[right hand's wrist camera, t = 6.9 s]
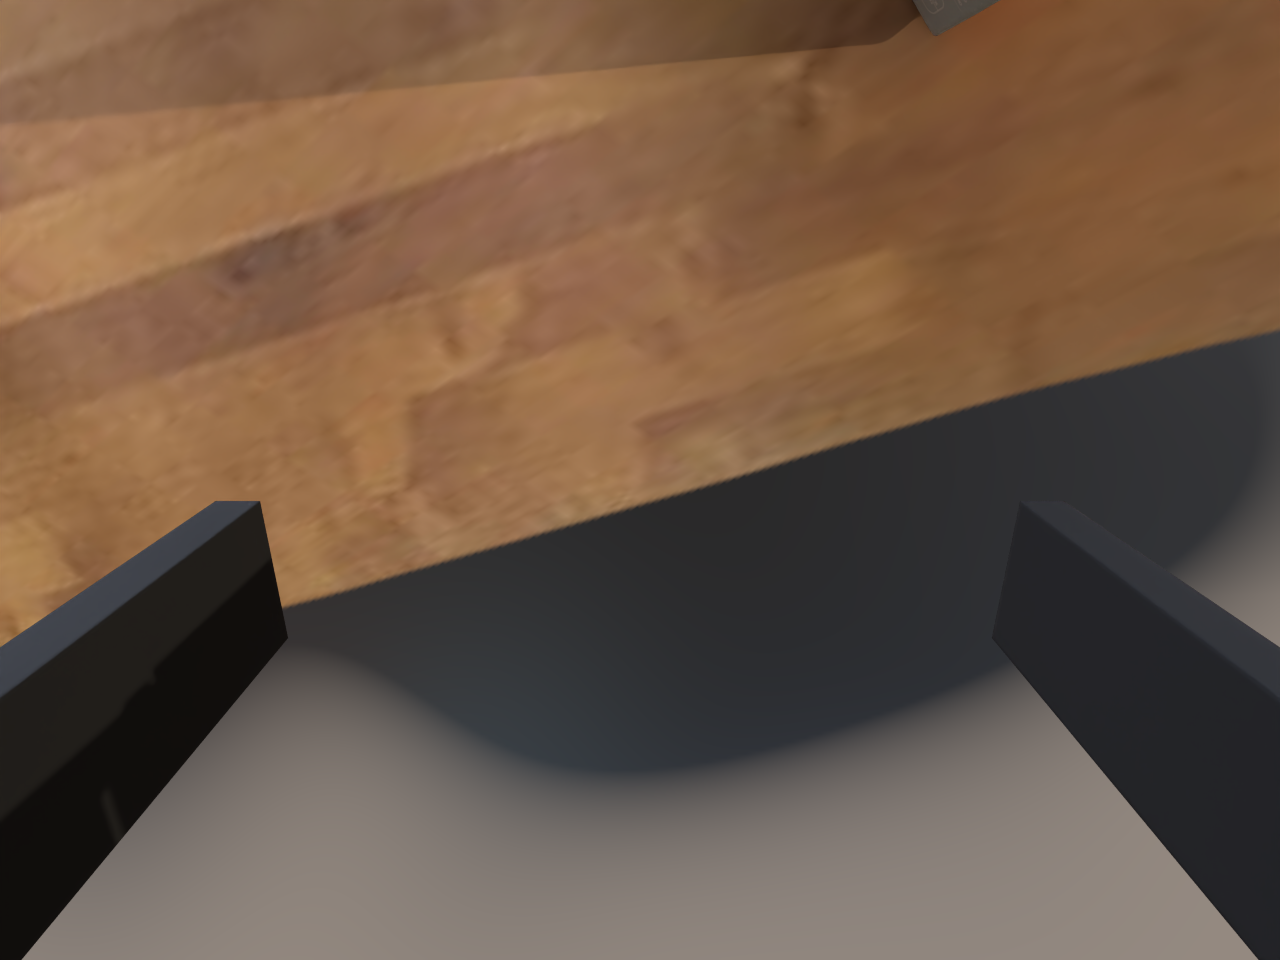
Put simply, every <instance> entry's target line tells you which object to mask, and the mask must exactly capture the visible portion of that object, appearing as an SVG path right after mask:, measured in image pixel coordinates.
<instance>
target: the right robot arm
mask: <svg viewBox="0 0 1280 960" xmlns="http://www.w3.org/2000/svg"><path fill="white" fill-rule="evenodd" d="M287 638H288V636H287V631H286V626H285V621H284V616H283V611H282V606H281V602H280V597H279V592H278V587H277V582H276V577H275V572H274V567H273V563H272V558H271V553H270V548H269V543H268V538H267V533H266V528H265V523H264V519H263V514H262V509H261V504H260V501H215V502H214V503H212V504H211V505H209V506H208V507H206V508H205V509H203V510H202V511H200V512H199V513H197V514H196V515H194V516H193V517H192V518H190V519H189V520H187V521H186V522H184V523H183V524H181V525H180V526H178V527H177V528H175V529H174V530H172V531H171V532H169V533H168V534H166V535H165V536H164V537H162V538H161V539H159V540H158V541H156V542H155V543H153V544H152V545H150V546H149V547H147V548H146V549H144V550H143V551H141V552H140V553H139V554H137V555H136V556H134V557H133V558H131V559H130V560H128V561H127V562H125V563H124V564H122V565H121V566H119V567H118V568H116V569H115V570H113V571H112V572H111V573H109V574H108V575H106V576H105V577H103V578H102V579H100V580H99V581H97V582H96V583H94V584H93V585H91V586H90V587H88V588H87V589H86V590H84V591H83V592H81V593H80V594H78V595H77V596H75V597H74V598H72V599H71V600H69V601H68V602H66V603H65V604H63V605H62V606H60V607H59V608H58V609H56V610H55V611H53V612H52V613H50V614H49V615H47V616H46V617H44V618H43V619H41V620H40V621H38V622H37V623H35V624H34V625H32V626H31V627H30V628H28V629H27V630H25V631H24V632H22V633H21V634H19V635H18V636H16V637H15V638H13V639H12V640H10V641H9V642H7V643H6V644H5V645H3V646H2V647H0V960H22V958H23V957H24V956H25V955H26V954H27V952H28V951H29V950H30V949H31V948H32V946H33V945H34V944H35V943H36V942H37V940H38V939H39V938H40V937H41V936H42V934H43V933H44V932H45V931H46V929H47V928H48V927H49V926H50V925H51V923H52V922H53V921H54V920H55V919H56V917H57V916H58V915H59V914H60V913H61V911H62V910H63V909H64V908H65V907H66V905H67V904H68V903H69V902H70V901H71V899H72V898H73V897H74V896H75V894H76V893H77V892H78V891H79V890H80V888H81V887H82V886H83V885H84V884H85V882H86V881H87V880H88V879H89V878H90V876H91V875H92V874H93V873H94V871H95V870H96V869H97V868H98V867H99V865H100V864H101V863H102V862H103V861H104V859H105V858H106V857H107V856H108V855H109V853H110V852H111V851H112V850H113V849H114V847H115V846H116V845H117V844H118V843H119V841H120V840H121V839H122V838H123V837H124V835H125V834H126V833H127V832H128V830H129V829H130V828H131V827H132V826H133V824H134V823H135V822H136V821H137V820H138V818H139V817H140V816H141V815H142V814H143V812H144V811H145V810H146V809H147V808H148V806H149V805H150V804H151V803H152V802H153V800H154V799H155V798H156V797H157V795H158V794H159V793H160V792H161V791H162V789H163V788H164V787H165V786H166V785H167V783H168V782H169V781H170V780H171V778H172V777H173V776H174V775H175V774H176V773H177V771H178V770H179V769H180V768H181V766H182V765H183V764H184V763H185V762H186V760H187V759H188V758H189V757H190V756H191V754H192V753H193V752H194V751H195V750H196V748H197V747H198V746H199V745H200V744H201V742H202V741H203V740H204V739H205V738H206V736H207V735H208V734H209V733H210V731H211V730H212V729H213V728H214V727H215V725H216V724H217V723H218V722H219V721H220V719H221V718H222V717H223V716H224V715H225V713H226V712H227V711H228V710H229V708H230V707H231V706H232V705H233V704H234V702H235V701H236V700H237V699H238V698H239V696H240V695H241V694H242V693H243V692H244V690H245V689H246V688H247V687H248V686H249V684H250V683H251V682H252V681H253V680H254V678H255V677H256V676H257V675H258V674H259V672H260V671H261V670H262V669H263V667H264V666H265V665H266V664H267V663H268V661H269V660H270V659H271V658H272V657H273V655H274V654H275V653H276V652H277V651H278V649H279V648H280V647H281V646H282V645H283V643H284V642H285V641H286V640H287ZM992 638H993V640H994V641H995V642H996V643H997V645H998V646H999V647H1000V648H1001V649H1002V651H1003V652H1004V653H1005V654H1006V655H1007V657H1008V658H1009V659H1010V660H1011V661H1012V663H1013V664H1014V665H1015V666H1016V668H1017V669H1018V670H1019V671H1020V672H1021V674H1022V675H1023V676H1024V677H1025V678H1026V680H1027V681H1028V682H1029V683H1030V684H1031V686H1032V687H1033V688H1034V689H1035V690H1036V692H1037V693H1038V694H1039V695H1040V696H1041V698H1042V699H1043V700H1044V701H1045V703H1046V704H1047V705H1048V706H1049V707H1050V709H1051V710H1052V711H1053V712H1054V713H1055V715H1056V716H1057V717H1058V718H1059V719H1060V721H1061V722H1062V723H1063V724H1064V725H1065V727H1066V728H1067V729H1068V730H1069V732H1070V733H1071V734H1072V735H1073V736H1074V738H1075V739H1076V740H1077V741H1078V742H1079V744H1080V745H1081V746H1082V747H1083V748H1084V750H1085V751H1086V752H1087V753H1088V754H1089V756H1090V757H1091V758H1092V759H1093V760H1094V762H1095V763H1096V764H1097V765H1098V767H1099V768H1100V769H1101V770H1102V771H1103V773H1104V774H1105V775H1106V776H1107V777H1108V779H1109V780H1110V781H1111V782H1112V783H1113V785H1114V786H1115V787H1116V788H1117V789H1118V791H1119V792H1120V793H1121V794H1122V795H1123V797H1124V798H1125V799H1126V800H1127V802H1128V803H1129V804H1130V805H1131V806H1132V808H1133V809H1134V810H1135V811H1136V812H1137V814H1138V815H1139V816H1140V817H1141V818H1142V820H1143V821H1144V822H1145V823H1146V824H1147V826H1148V827H1149V828H1150V829H1151V830H1152V832H1153V833H1154V834H1155V835H1156V836H1157V838H1158V839H1159V840H1160V841H1161V843H1162V844H1163V845H1164V846H1165V847H1166V849H1167V850H1168V851H1169V852H1170V853H1171V855H1172V856H1173V857H1174V858H1175V859H1176V861H1177V862H1178V863H1179V864H1180V866H1181V867H1182V868H1183V869H1184V870H1185V872H1186V873H1187V874H1188V875H1189V876H1190V878H1191V879H1192V880H1193V881H1194V882H1195V884H1196V885H1197V886H1198V887H1199V888H1200V890H1201V891H1202V892H1203V893H1204V894H1205V896H1206V897H1207V898H1208V899H1209V901H1210V902H1211V903H1212V904H1213V905H1214V907H1215V908H1216V909H1217V910H1218V911H1219V913H1220V914H1221V915H1222V916H1223V917H1224V919H1225V920H1226V921H1227V922H1228V923H1229V925H1230V926H1231V927H1232V928H1233V930H1234V931H1235V932H1236V933H1237V934H1238V936H1239V937H1240V938H1241V939H1242V940H1243V942H1244V943H1245V944H1246V945H1247V946H1248V948H1249V949H1250V950H1251V951H1252V952H1253V954H1254V955H1255V956H1256V957H1257V958H1258V960H1280V647H1278V646H1277V645H1275V644H1274V643H1273V642H1271V641H1270V640H1268V639H1267V638H1265V637H1264V636H1262V635H1261V634H1259V633H1258V632H1256V631H1255V630H1253V629H1252V628H1250V627H1249V626H1247V625H1246V624H1245V623H1243V622H1242V621H1240V620H1239V619H1237V618H1236V617H1234V616H1233V615H1231V614H1230V613H1228V612H1227V611H1225V610H1224V609H1222V608H1221V607H1219V606H1218V605H1217V604H1215V603H1214V602H1212V601H1211V600H1209V599H1208V598H1206V597H1205V596H1203V595H1202V594H1200V593H1199V592H1197V591H1196V590H1194V589H1193V588H1192V587H1190V586H1189V585H1187V584H1186V583H1184V582H1183V581H1181V580H1180V579H1178V578H1177V577H1175V576H1174V575H1172V574H1171V573H1169V572H1168V571H1167V570H1165V569H1164V568H1162V567H1161V566H1159V565H1158V564H1156V563H1155V562H1153V561H1152V560H1150V559H1149V558H1147V557H1146V556H1144V555H1143V554H1141V553H1140V552H1139V551H1137V550H1136V549H1134V548H1133V547H1131V546H1130V545H1128V544H1127V543H1125V542H1124V541H1122V540H1121V539H1119V538H1118V537H1116V536H1115V535H1113V534H1112V533H1111V532H1109V531H1108V530H1106V529H1105V528H1103V527H1102V526H1100V525H1099V524H1097V523H1096V522H1094V521H1093V520H1091V519H1090V518H1088V517H1087V516H1086V515H1084V514H1083V513H1081V512H1080V511H1078V510H1077V509H1075V508H1074V507H1072V506H1071V505H1069V504H1068V503H1066V502H1065V501H1020V504H1019V509H1018V514H1017V519H1016V524H1015V528H1014V533H1013V538H1012V543H1011V548H1010V553H1009V558H1008V563H1007V567H1006V572H1005V577H1004V582H1003V587H1002V592H1001V597H1000V602H999V607H998V611H997V616H996V621H995V626H994V631H993V636H992Z"/></svg>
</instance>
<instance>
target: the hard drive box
mask: <svg viewBox="0 0 1280 960" xmlns="http://www.w3.org/2000/svg"><path fill="white" fill-rule="evenodd" d="M998 1H1000V0H913V2H914V4H915V5H916V7H917V9H918V11H919V12H920V14H921V16H922V18H923V19H924V21H925V23H926V24H927V26H928V28H929V29H930V31H931V32H932V34H933V35H935V36H937V35H939V34H941V33H943V32H945V31H947V30H948V29H950V28H952V27H954V26H956V25H957V24H959V23H961V22H963V21H965V20H967V19H968V18H970V17H972V16H974V15H975V14H977V13H979V12H981V11H982V10H984V9H986V8H987V7H989V6H991V5H992V4H994V3H996V2H998Z"/></svg>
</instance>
